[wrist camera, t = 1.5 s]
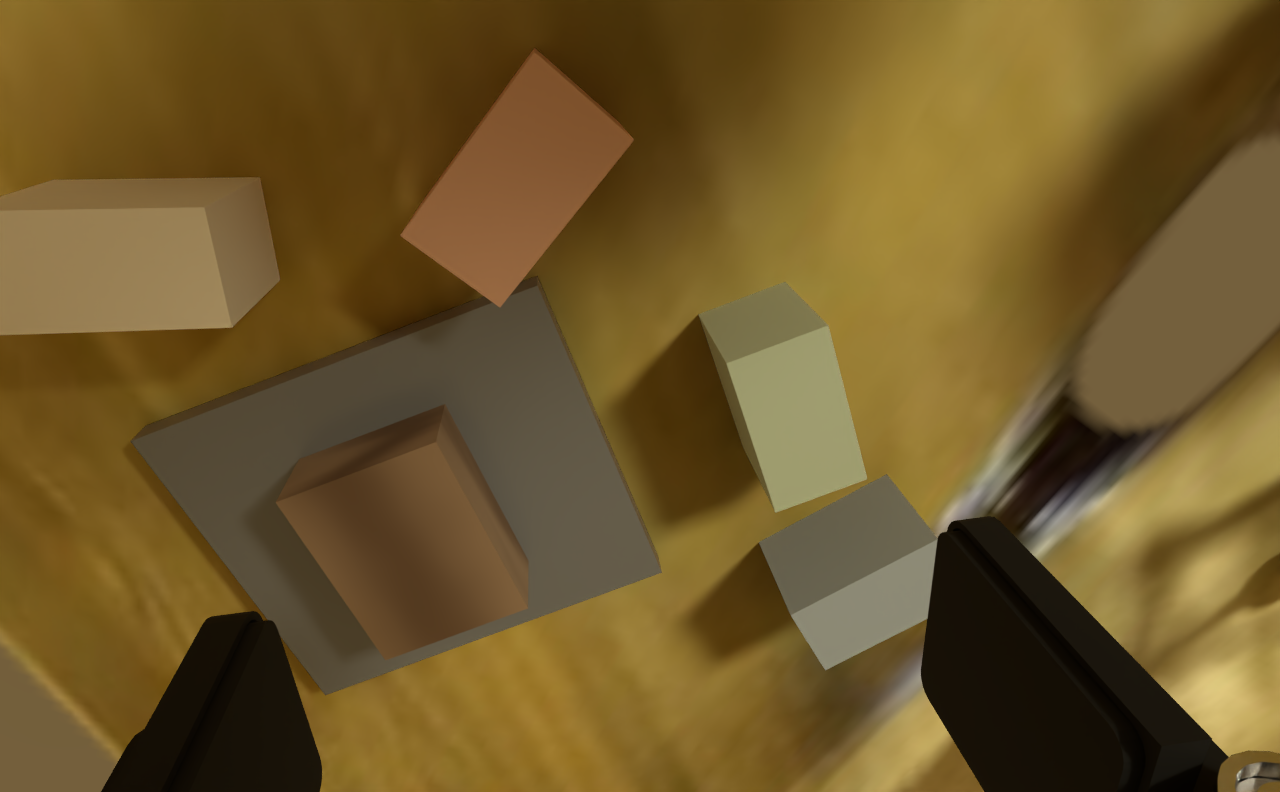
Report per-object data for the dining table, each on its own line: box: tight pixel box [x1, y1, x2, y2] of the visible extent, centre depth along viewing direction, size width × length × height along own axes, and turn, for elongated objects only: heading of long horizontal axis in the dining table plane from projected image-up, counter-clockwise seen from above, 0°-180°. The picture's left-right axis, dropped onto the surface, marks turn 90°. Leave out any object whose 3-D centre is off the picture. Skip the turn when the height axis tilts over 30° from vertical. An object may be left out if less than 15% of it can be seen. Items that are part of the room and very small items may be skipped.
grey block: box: [759, 475, 938, 670], centre depth 34 cm, size 6×4×5 cm, turn 120°
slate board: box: [131, 276, 662, 695], centre depth 32 cm, size 16×14×1 cm
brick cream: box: [0, 177, 280, 335], centre depth 25 cm, size 6×4×5 cm, turn 90°
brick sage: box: [698, 282, 867, 512], centre depth 30 cm, size 6×4×5 cm, turn 20°
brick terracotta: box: [400, 48, 634, 307], centre depth 25 cm, size 6×4×5 cm, turn 140°
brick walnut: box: [276, 404, 529, 660], centre depth 30 cm, size 6×8×3 cm
